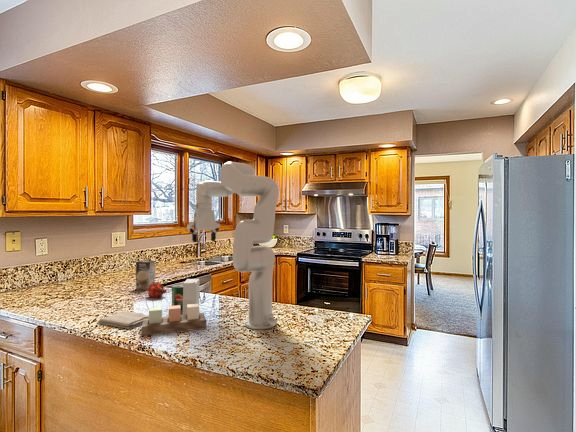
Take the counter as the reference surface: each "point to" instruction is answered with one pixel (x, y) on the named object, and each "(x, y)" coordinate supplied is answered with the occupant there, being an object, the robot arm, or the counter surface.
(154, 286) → the dragon fruit
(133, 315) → the washcloth
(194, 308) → the cream key
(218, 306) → the counter surface
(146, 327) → the brown slotted tray
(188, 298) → the skincare box
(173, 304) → the canned tomato
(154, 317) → the sage key
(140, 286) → the coffee box
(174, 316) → the terracotta key
